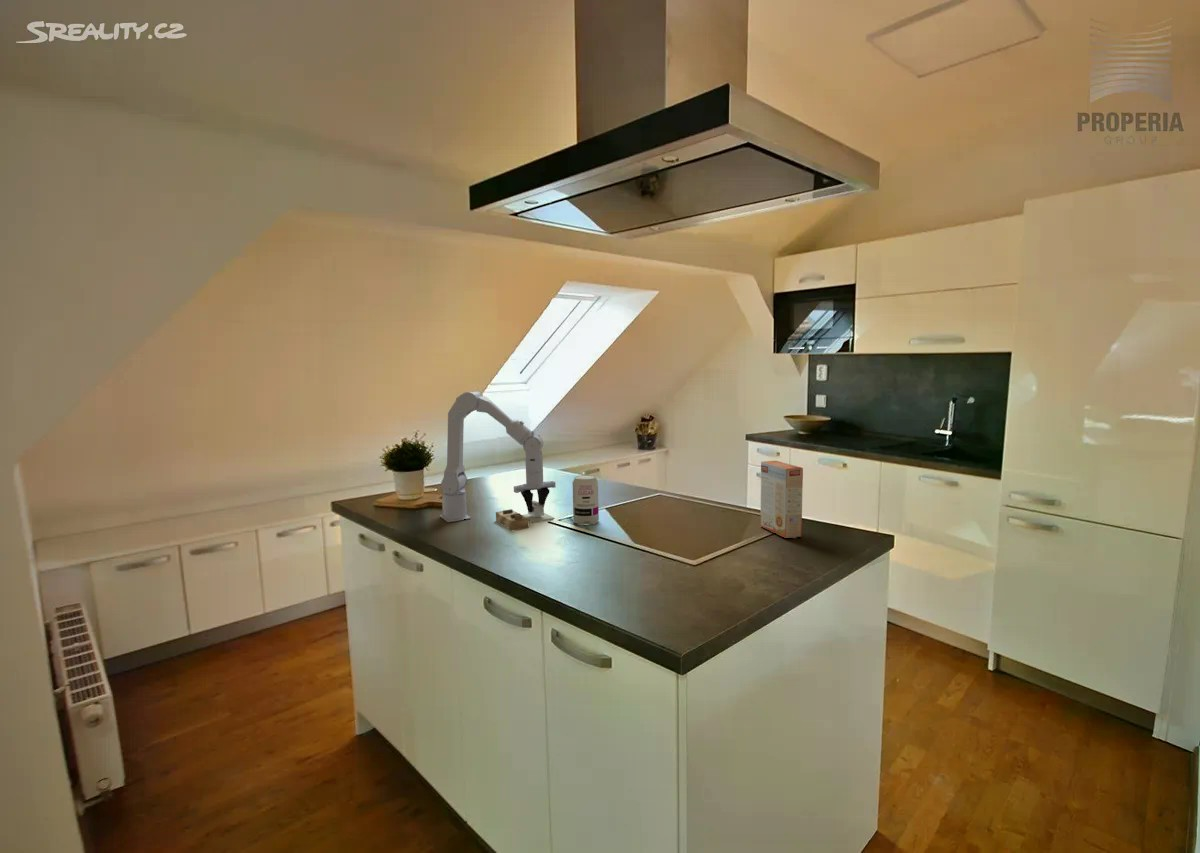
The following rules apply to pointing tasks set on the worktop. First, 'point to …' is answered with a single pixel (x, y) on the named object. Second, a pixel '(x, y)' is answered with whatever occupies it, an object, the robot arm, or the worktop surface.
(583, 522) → the supplement can
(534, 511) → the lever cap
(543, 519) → the rubber mat
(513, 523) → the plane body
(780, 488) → the cracker box
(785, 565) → the worktop surface
